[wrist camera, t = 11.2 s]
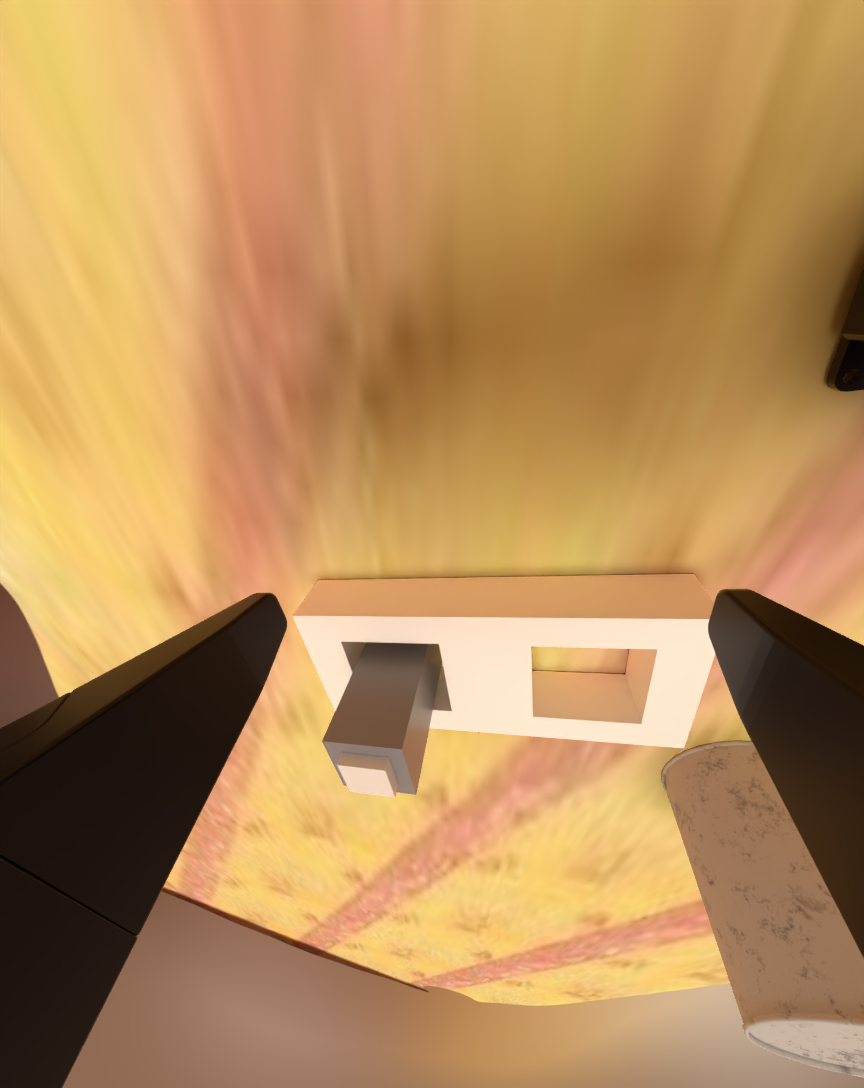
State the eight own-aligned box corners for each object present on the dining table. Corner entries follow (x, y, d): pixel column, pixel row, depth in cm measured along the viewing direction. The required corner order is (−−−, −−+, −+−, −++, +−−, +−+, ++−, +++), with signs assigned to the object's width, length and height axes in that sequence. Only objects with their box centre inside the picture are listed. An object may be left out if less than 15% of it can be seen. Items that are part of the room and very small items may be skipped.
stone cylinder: (634, 783, 30) (700, 1027, 20) (721, 723, 25) (874, 1013, 14) (741, 823, 30) (862, 1085, 20) (850, 772, 25) (1090, 1092, 15)
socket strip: (693, 573, 19) (726, 619, 16) (661, 700, 24) (682, 752, 22) (318, 580, 24) (292, 615, 21) (357, 683, 30) (340, 724, 27)
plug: (435, 615, 24) (398, 762, 16) (443, 657, 26) (413, 807, 18) (378, 614, 25) (316, 753, 17) (390, 655, 27) (339, 797, 19)
